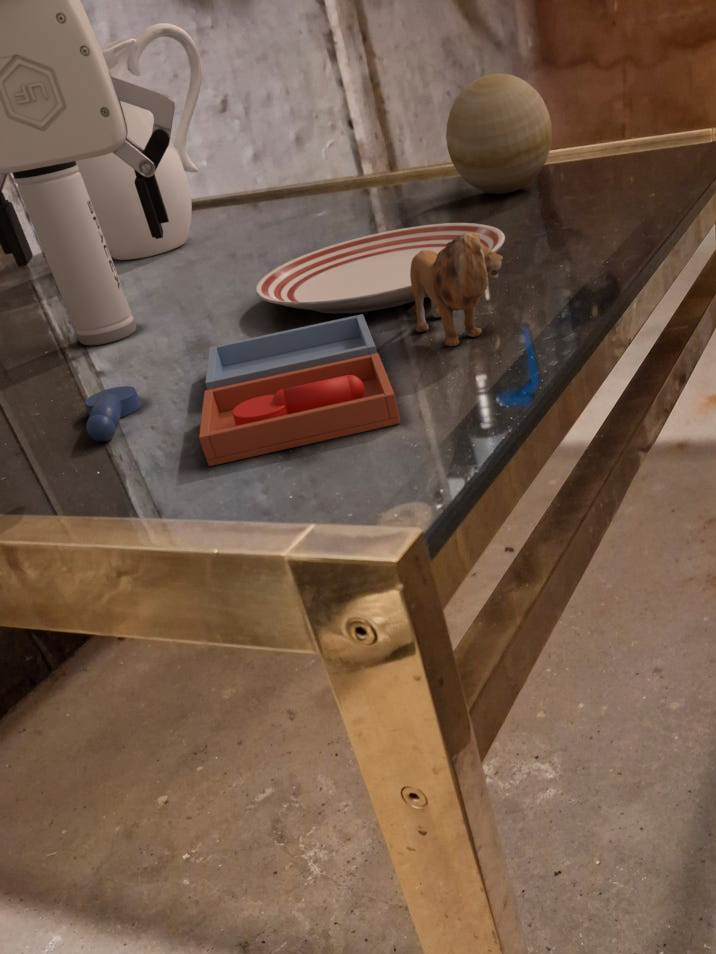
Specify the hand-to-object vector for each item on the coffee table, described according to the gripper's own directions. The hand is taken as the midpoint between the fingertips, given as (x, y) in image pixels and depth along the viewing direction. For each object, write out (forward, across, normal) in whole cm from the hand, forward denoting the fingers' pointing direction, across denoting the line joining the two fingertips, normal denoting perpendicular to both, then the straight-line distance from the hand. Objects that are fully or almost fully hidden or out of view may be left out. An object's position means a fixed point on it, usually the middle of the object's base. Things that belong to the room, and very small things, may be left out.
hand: (93, 248), depth 68 cm
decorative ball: (+14, +50, +65) cm, 83 cm away
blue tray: (+14, +12, +6) cm, 19 cm away
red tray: (+14, +12, -6) cm, 19 cm away
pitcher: (+14, +1, +81) cm, 82 cm away
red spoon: (+13, +12, -7) cm, 19 cm away
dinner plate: (+14, +24, +28) cm, 39 cm away
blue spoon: (+14, -4, +4) cm, 15 cm away
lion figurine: (+14, +27, +6) cm, 31 cm away
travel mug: (+14, -6, +33) cm, 37 cm away
